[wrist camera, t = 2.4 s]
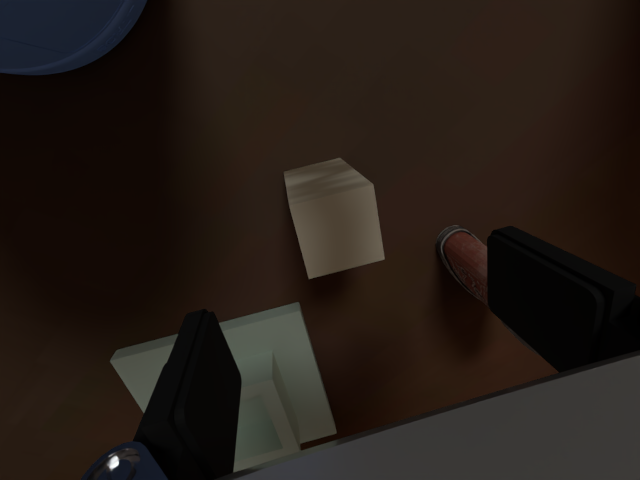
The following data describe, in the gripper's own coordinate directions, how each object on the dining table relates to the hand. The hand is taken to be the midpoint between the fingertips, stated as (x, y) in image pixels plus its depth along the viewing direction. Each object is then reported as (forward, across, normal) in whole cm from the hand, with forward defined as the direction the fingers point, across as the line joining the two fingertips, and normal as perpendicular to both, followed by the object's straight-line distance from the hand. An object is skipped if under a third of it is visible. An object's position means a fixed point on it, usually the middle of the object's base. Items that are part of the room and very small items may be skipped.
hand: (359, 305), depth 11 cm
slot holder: (+14, +10, +16) cm, 23 cm away
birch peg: (+13, -1, 0) cm, 13 cm away
